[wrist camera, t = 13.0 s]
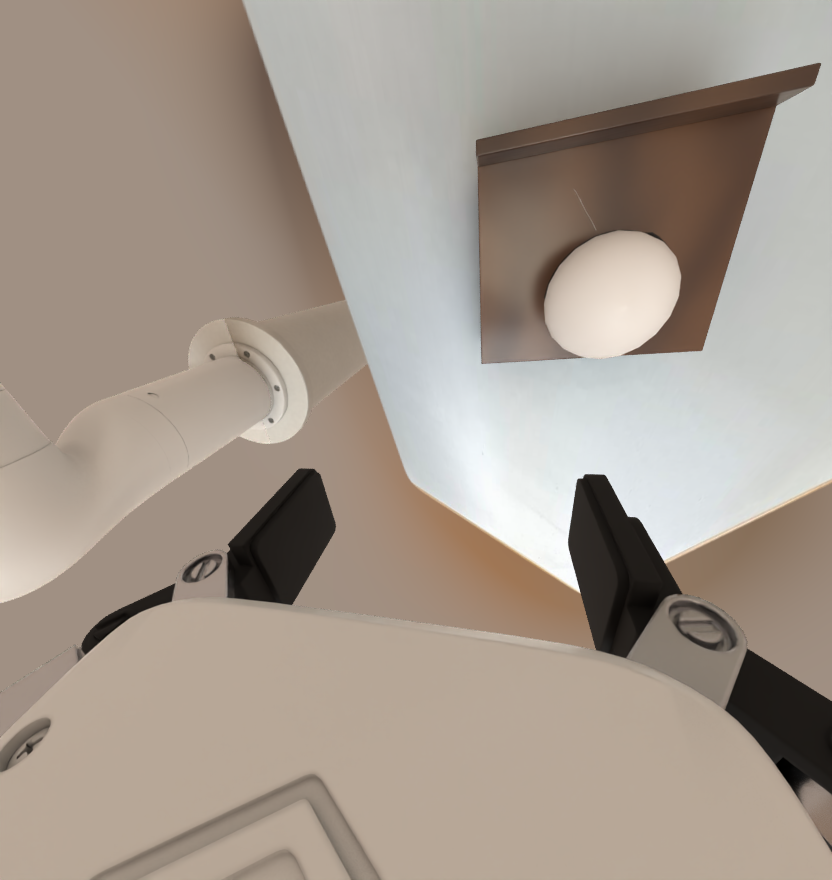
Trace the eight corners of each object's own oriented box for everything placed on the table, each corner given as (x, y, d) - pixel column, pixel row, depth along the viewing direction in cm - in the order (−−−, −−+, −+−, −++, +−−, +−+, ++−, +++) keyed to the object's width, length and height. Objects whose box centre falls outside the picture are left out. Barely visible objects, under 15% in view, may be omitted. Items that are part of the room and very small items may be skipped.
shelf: (483, 344, 34) (480, 372, 25) (481, 178, 27) (475, 139, 19) (655, 331, 30) (722, 359, 21) (700, 136, 23) (823, 61, 15)
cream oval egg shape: (651, 328, 23) (709, 352, 17) (544, 356, 26) (562, 386, 19) (648, 165, 19) (724, 118, 13) (522, 216, 22) (535, 197, 15)
